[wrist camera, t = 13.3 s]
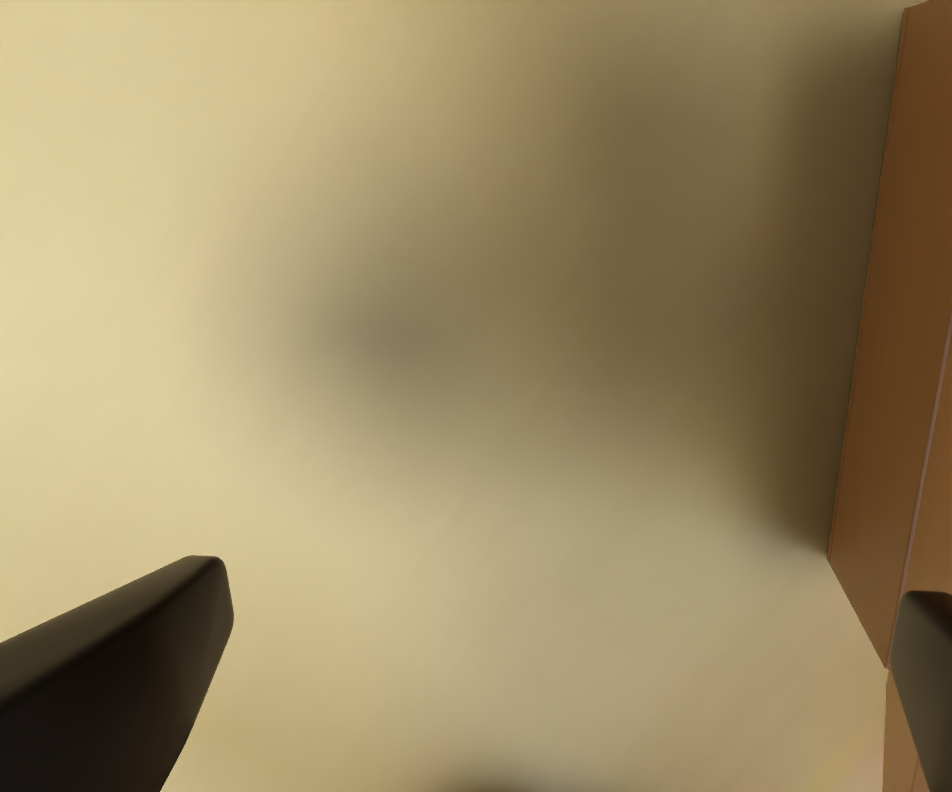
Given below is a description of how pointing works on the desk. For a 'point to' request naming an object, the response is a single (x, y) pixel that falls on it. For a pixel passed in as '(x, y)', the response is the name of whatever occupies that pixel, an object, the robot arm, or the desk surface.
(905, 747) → the flap
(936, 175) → the carton
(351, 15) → the desk surface
